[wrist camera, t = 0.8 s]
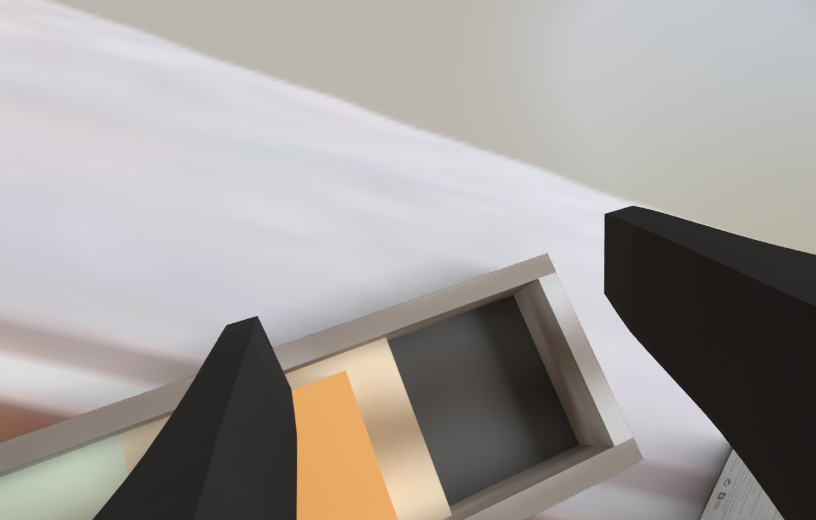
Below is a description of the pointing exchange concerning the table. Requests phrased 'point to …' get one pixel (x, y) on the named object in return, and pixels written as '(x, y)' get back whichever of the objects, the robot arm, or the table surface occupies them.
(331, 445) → the orange block
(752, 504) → the small box
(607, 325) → the table surface
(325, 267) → the table surface
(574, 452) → the trap lane
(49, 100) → the table surface
